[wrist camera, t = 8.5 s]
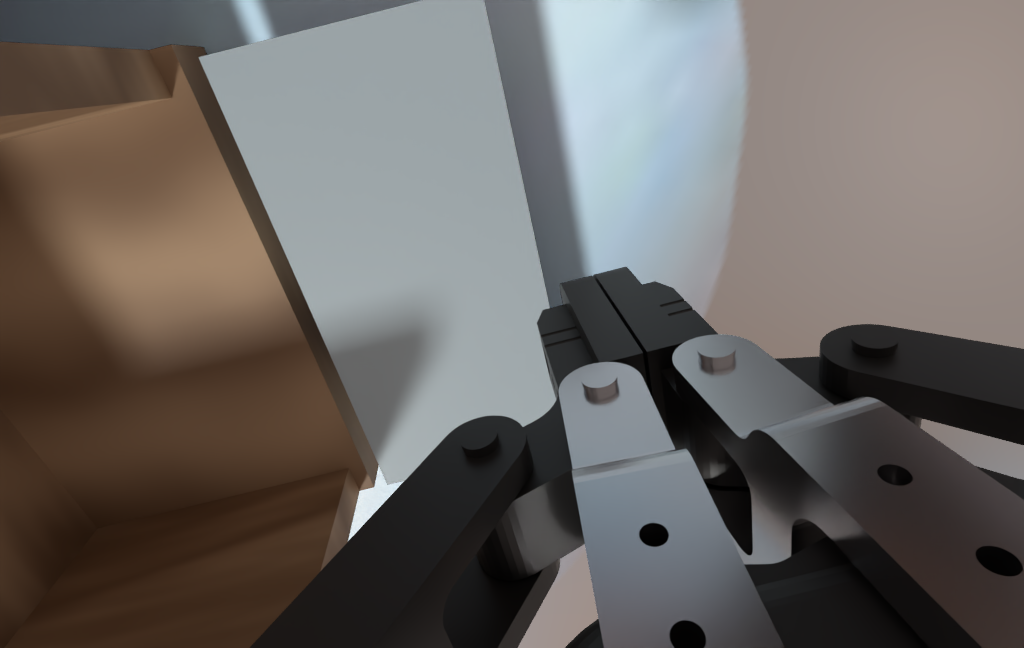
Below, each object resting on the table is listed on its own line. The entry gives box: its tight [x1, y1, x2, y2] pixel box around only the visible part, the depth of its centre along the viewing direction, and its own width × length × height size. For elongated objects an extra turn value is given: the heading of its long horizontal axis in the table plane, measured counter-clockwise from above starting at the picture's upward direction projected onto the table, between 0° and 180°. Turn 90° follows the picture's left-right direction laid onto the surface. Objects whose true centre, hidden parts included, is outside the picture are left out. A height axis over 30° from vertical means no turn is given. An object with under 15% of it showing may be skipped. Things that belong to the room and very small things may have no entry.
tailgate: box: [198, 0, 556, 485], centre depth 18 cm, size 15×2×8 cm
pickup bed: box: [0, 42, 378, 648], centre depth 15 cm, size 16×12×10 cm
